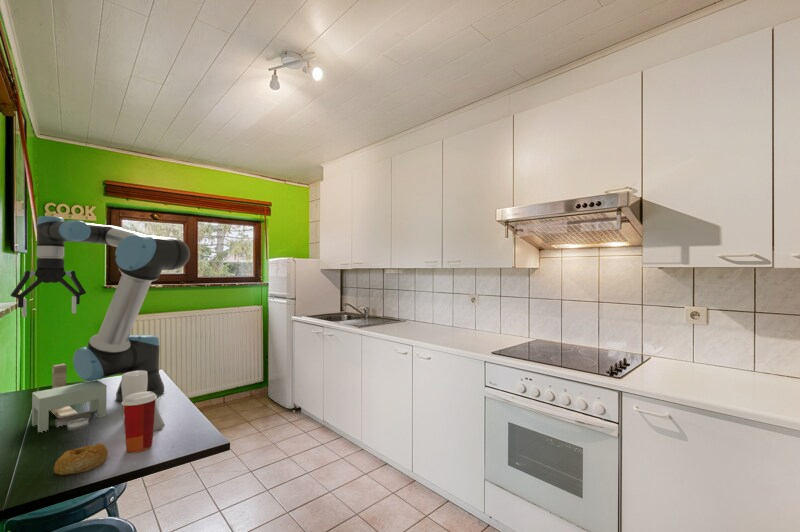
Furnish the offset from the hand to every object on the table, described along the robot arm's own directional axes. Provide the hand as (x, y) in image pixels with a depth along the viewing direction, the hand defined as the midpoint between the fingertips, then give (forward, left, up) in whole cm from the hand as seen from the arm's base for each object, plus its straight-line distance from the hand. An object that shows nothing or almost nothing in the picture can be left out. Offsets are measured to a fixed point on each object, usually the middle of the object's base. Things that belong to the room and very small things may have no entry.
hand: (50, 314), depth 136 cm
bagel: (-29, +64, -32) cm, 77 cm away
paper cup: (-40, +59, -32) cm, 78 cm away
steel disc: (-19, +35, -32) cm, 51 cm away
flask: (-40, +46, -32) cm, 69 cm away
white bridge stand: (-15, +27, -32) cm, 44 cm away
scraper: (-12, +22, -32) cm, 40 cm away
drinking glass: (-34, +36, -32) cm, 59 cm away
